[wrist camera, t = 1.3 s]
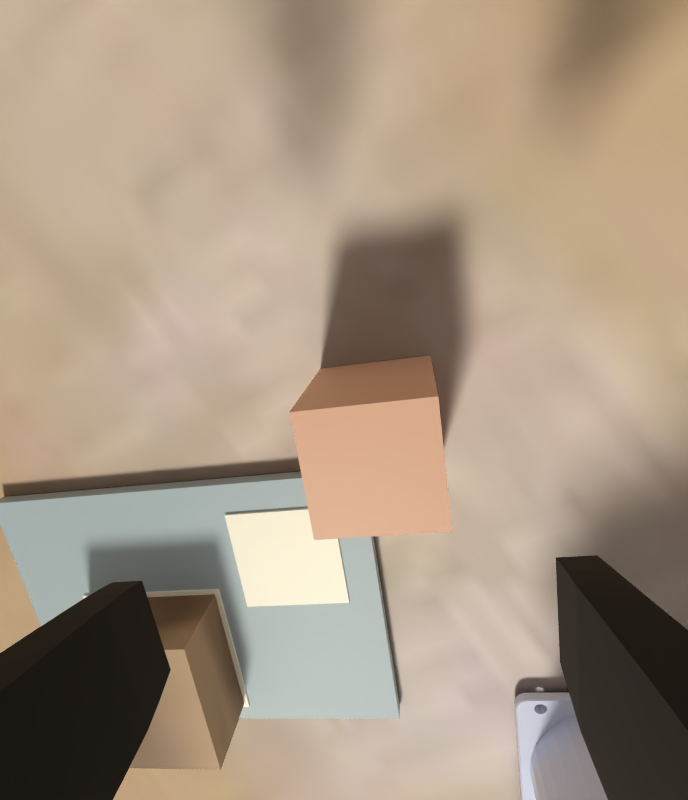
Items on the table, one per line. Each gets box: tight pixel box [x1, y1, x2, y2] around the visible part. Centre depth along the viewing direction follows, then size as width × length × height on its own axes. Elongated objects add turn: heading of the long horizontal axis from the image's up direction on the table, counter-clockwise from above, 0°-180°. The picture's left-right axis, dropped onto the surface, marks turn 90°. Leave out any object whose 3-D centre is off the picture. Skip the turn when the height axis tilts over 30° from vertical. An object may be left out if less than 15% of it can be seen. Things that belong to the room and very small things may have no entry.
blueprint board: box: [0, 471, 400, 718], centre depth 22 cm, size 16×12×1 cm
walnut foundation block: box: [129, 594, 244, 770], centre depth 21 cm, size 6×6×3 cm
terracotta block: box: [289, 355, 452, 540], centre depth 16 cm, size 4×4×5 cm
